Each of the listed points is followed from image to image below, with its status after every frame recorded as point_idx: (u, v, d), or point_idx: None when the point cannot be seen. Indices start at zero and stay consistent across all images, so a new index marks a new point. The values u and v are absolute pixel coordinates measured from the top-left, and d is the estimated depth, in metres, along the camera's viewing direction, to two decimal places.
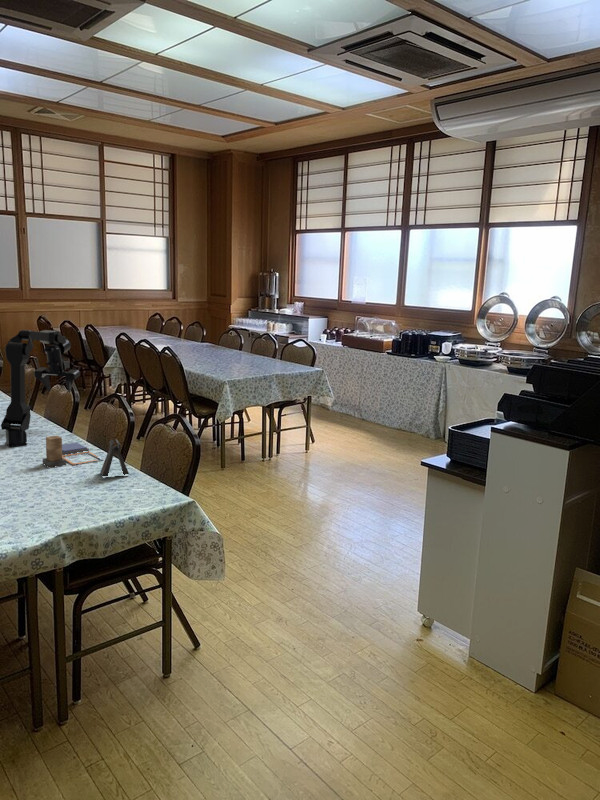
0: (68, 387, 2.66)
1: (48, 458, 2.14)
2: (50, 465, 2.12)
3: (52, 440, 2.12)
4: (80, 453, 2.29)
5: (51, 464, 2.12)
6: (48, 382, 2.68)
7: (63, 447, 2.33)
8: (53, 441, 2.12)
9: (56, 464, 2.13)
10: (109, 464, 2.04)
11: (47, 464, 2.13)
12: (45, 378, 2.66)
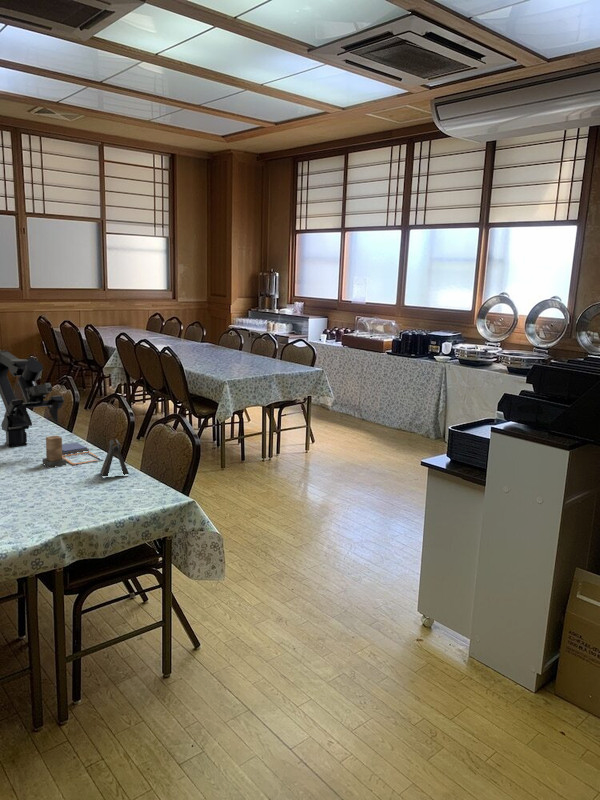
0: None
1: (48, 458, 2.14)
2: (50, 465, 2.12)
3: (52, 440, 2.12)
4: (80, 453, 2.29)
5: (51, 464, 2.12)
6: (53, 413, 2.23)
7: (63, 447, 2.33)
8: (53, 441, 2.12)
9: (56, 464, 2.13)
10: (109, 464, 2.04)
11: (47, 464, 2.13)
12: (51, 409, 2.25)
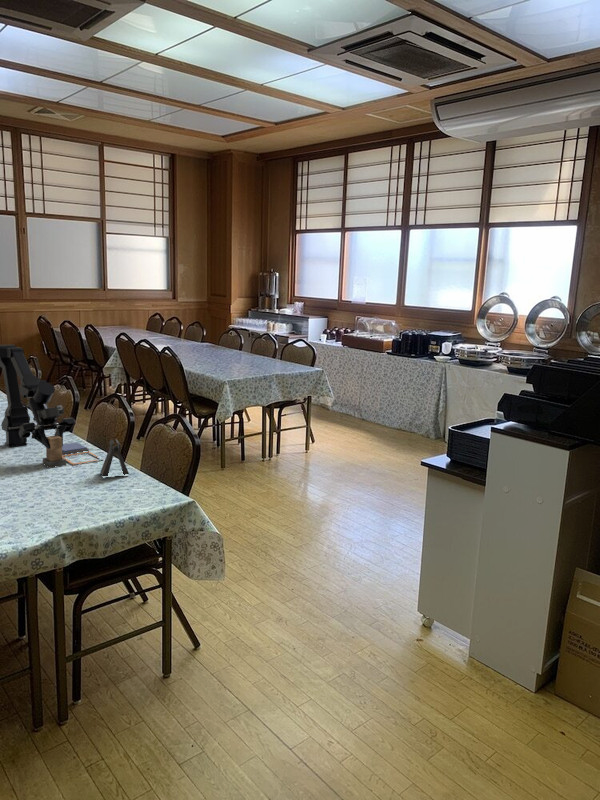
0: None
1: (48, 458, 2.14)
2: (50, 465, 2.12)
3: (52, 440, 2.12)
4: (80, 453, 2.29)
5: (51, 464, 2.12)
6: None
7: (63, 447, 2.33)
8: (53, 440, 2.12)
9: (56, 464, 2.13)
10: (109, 464, 2.04)
11: (47, 464, 2.13)
12: (56, 433, 2.18)
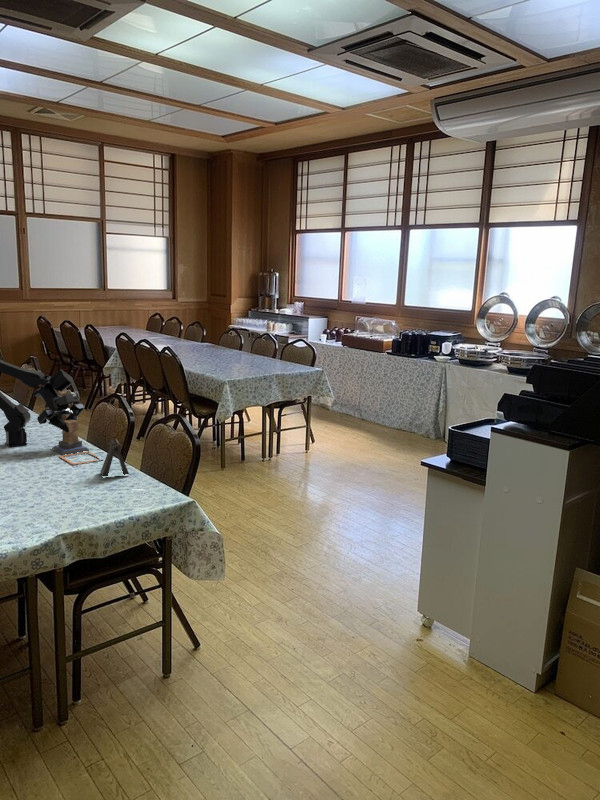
0: None
1: (65, 440, 2.32)
2: (70, 446, 2.30)
3: (71, 423, 2.30)
4: (80, 453, 2.29)
5: (71, 446, 2.31)
6: None
7: None
8: (71, 424, 2.30)
9: (74, 445, 2.32)
10: (109, 464, 2.04)
11: (66, 446, 2.31)
12: (68, 418, 2.36)
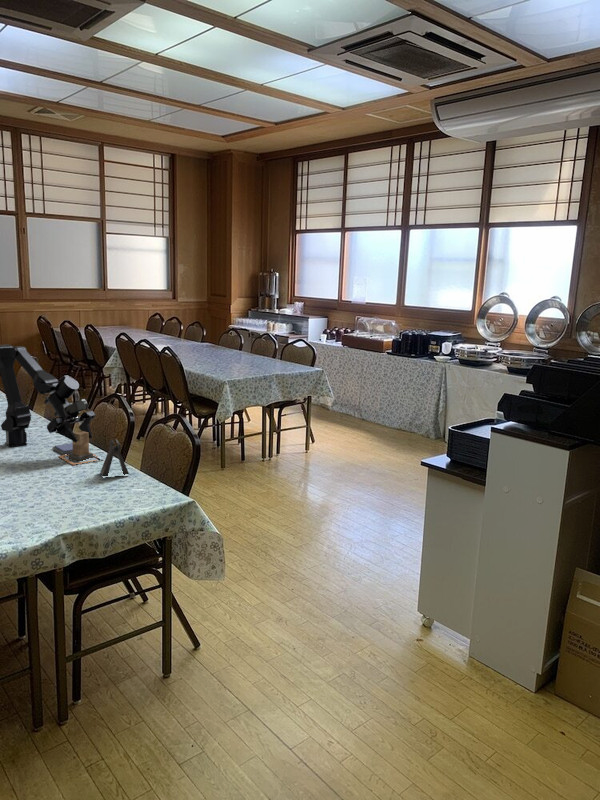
0: None
1: (76, 453, 2.22)
2: (81, 459, 2.21)
3: (81, 435, 2.20)
4: None
5: (82, 458, 2.21)
6: (85, 429, 2.26)
7: (63, 447, 2.33)
8: (82, 436, 2.21)
9: (85, 458, 2.22)
10: (109, 464, 2.04)
11: (77, 459, 2.21)
12: (81, 425, 2.27)
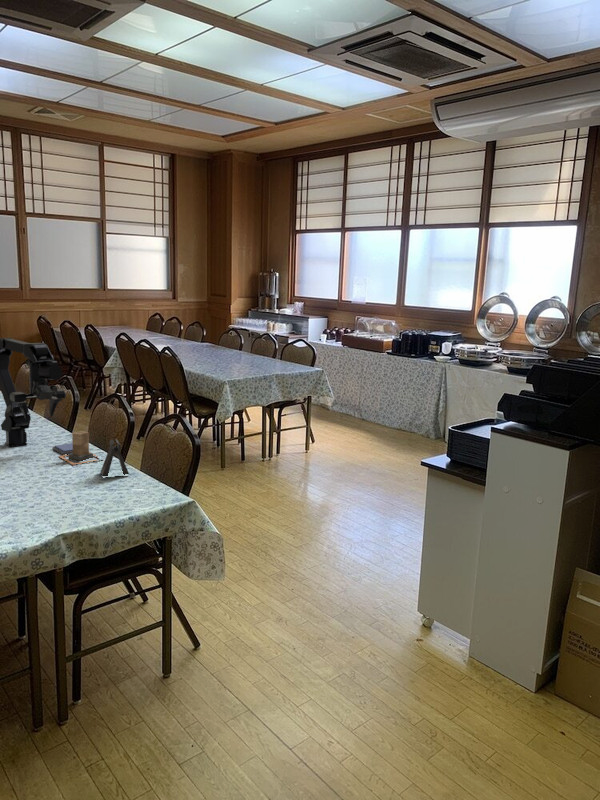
0: None
1: (76, 453, 2.22)
2: (81, 459, 2.21)
3: (81, 435, 2.20)
4: None
5: (82, 458, 2.21)
6: (51, 406, 2.31)
7: (63, 447, 2.33)
8: (82, 436, 2.21)
9: (85, 458, 2.22)
10: (109, 464, 2.04)
11: (77, 459, 2.21)
12: (51, 399, 2.31)
